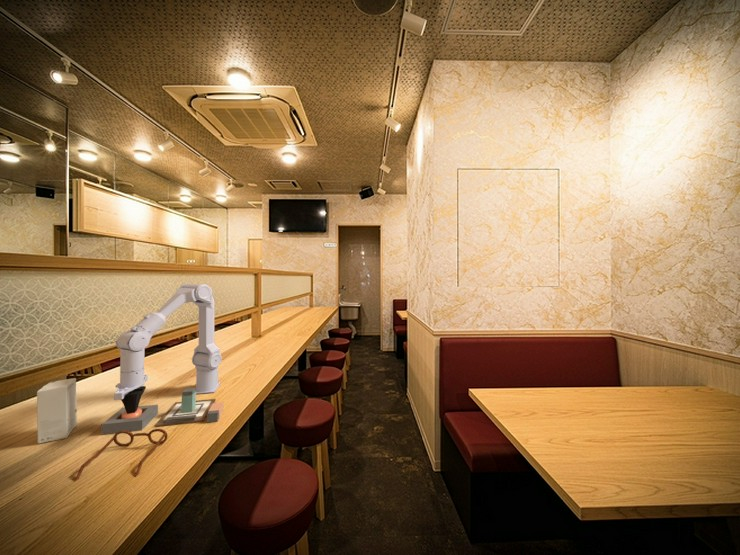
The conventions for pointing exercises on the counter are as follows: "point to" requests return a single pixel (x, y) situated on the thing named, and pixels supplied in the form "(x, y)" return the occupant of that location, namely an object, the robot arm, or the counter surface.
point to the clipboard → (186, 414)
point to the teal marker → (188, 400)
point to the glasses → (127, 445)
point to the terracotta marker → (215, 412)
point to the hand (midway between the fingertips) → (131, 412)
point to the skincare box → (56, 410)
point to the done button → (132, 414)
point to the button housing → (129, 420)
